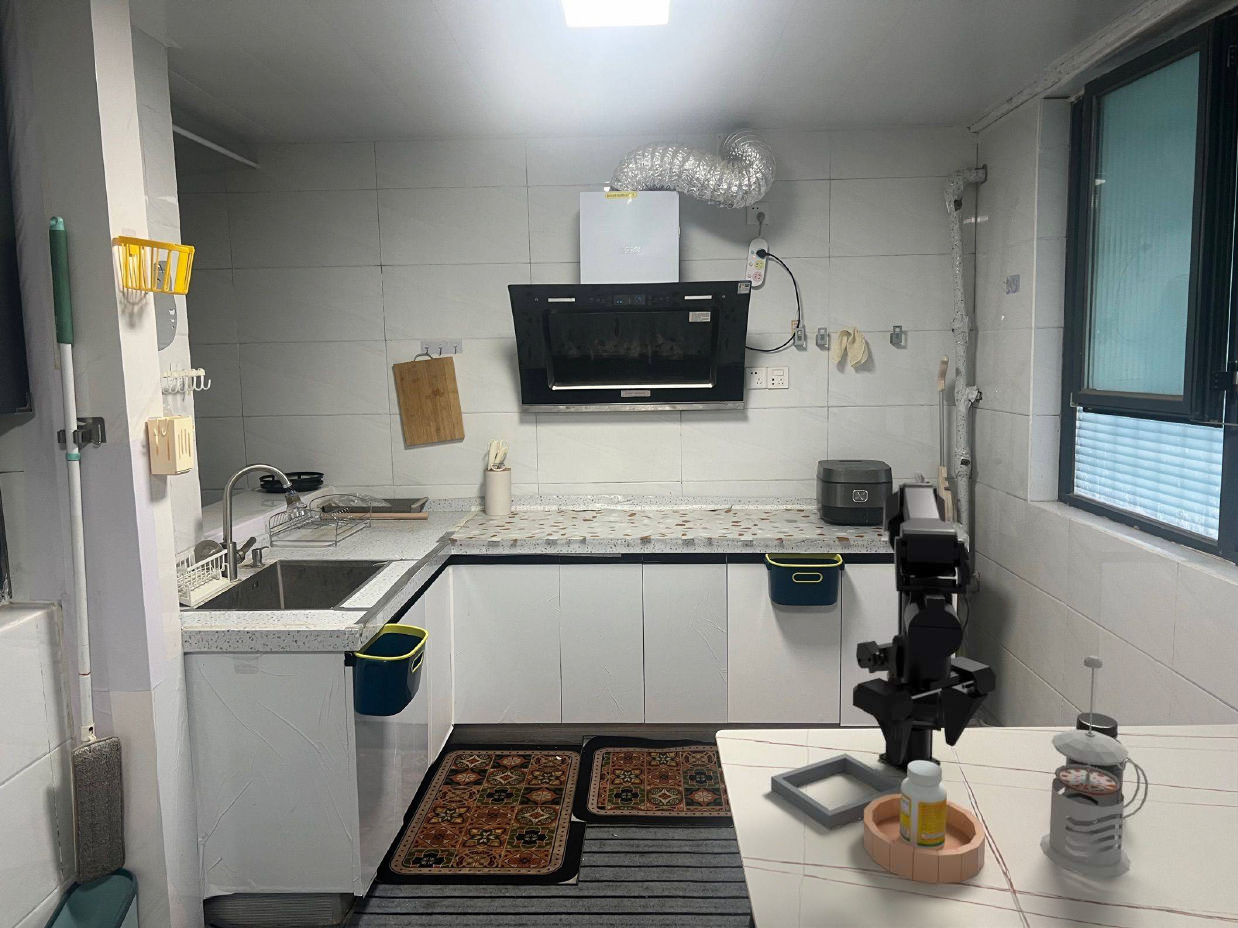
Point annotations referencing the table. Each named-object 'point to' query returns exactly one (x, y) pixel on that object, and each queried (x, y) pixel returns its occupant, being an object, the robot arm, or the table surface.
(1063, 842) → the french press
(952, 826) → the bowl
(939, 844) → the supplement bottle
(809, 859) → the table surface
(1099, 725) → the supplement bottle
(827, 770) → the open rectangular frame
